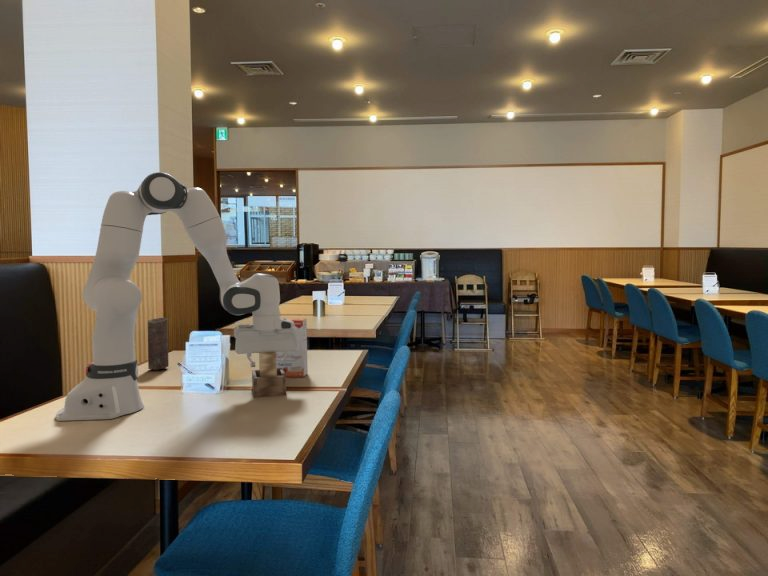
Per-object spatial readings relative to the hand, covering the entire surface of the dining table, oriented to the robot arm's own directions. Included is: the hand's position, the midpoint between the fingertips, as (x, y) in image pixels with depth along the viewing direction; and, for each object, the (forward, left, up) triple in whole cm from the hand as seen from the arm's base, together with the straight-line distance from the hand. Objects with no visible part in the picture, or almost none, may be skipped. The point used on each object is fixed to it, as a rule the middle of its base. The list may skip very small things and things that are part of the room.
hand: (267, 365), depth 182 cm
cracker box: (+8, +21, -9) cm, 24 cm away
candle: (-39, +48, -9) cm, 62 cm away
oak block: (0, 0, -7) cm, 7 cm away
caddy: (0, 0, -8) cm, 8 cm away
